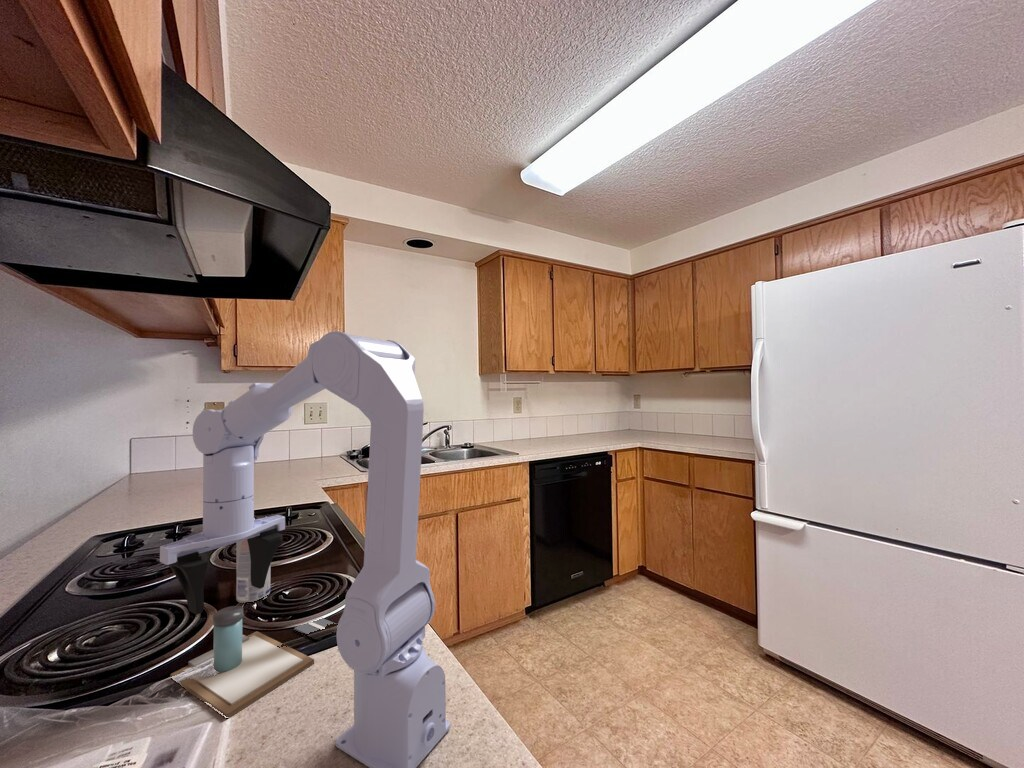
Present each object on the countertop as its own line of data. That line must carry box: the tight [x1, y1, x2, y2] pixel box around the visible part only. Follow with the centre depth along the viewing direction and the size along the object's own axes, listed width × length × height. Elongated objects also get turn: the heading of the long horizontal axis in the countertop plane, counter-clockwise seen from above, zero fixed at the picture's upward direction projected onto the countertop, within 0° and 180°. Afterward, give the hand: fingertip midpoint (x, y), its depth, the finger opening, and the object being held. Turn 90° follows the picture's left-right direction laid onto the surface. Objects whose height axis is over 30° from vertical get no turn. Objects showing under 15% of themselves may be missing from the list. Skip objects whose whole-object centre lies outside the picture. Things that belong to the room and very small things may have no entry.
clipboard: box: [170, 631, 315, 718], centre depth 55 cm, size 14×11×1 cm
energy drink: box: [235, 539, 272, 604], centre depth 75 cm, size 5×5×12 cm
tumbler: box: [212, 605, 244, 673], centre depth 55 cm, size 3×3×7 cm
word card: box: [293, 617, 337, 634], centre depth 65 cm, size 6×4×1 cm, turn 61°
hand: (228, 598), depth 55 cm, fingers open, 7 cm apart
